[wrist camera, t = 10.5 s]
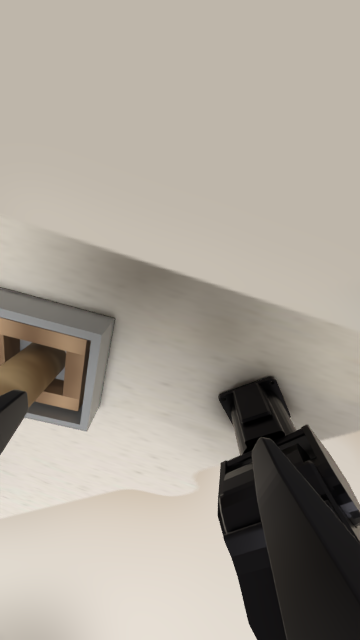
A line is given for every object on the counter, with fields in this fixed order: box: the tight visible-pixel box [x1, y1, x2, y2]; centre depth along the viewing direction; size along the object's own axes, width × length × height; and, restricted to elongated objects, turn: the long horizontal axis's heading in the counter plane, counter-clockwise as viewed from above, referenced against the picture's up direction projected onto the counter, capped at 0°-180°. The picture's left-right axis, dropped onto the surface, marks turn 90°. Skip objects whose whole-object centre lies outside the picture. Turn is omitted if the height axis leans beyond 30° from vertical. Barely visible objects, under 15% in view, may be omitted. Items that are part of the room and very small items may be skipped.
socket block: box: [0, 317, 91, 411], centre depth 21 cm, size 9×9×2 cm
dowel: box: [0, 342, 66, 408], centre depth 16 cm, size 4×4×12 cm
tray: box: [0, 287, 115, 431], centre depth 21 cm, size 12×12×4 cm
